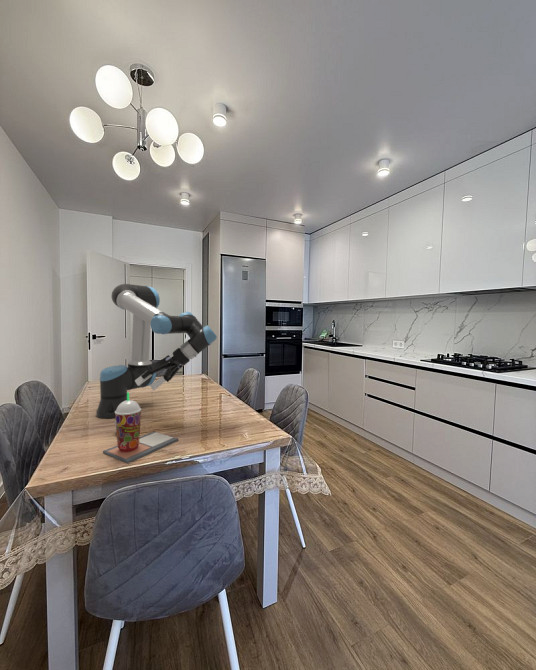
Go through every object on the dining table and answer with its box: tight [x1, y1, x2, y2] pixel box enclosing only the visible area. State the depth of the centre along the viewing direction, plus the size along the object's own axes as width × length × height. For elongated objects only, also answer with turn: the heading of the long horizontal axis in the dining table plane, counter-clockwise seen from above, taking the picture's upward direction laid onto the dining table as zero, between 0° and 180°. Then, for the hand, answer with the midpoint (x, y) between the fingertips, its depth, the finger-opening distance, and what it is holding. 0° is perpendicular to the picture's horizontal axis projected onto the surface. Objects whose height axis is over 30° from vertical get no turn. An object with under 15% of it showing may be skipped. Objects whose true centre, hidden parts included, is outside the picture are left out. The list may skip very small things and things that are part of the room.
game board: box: [102, 431, 179, 464], centre depth 105 cm, size 14×21×1 cm, turn 150°
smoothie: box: [114, 391, 142, 452], centre depth 100 cm, size 8×8×20 cm
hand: (144, 385), depth 121 cm, fingers open, 13 cm apart
